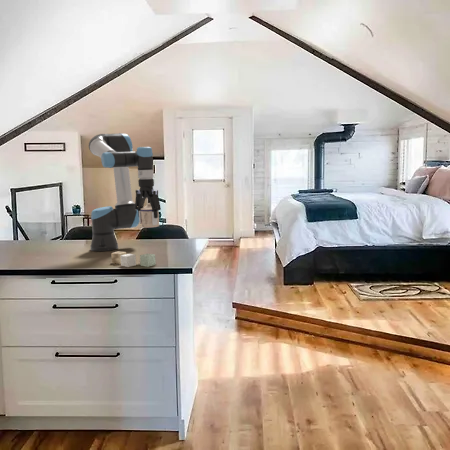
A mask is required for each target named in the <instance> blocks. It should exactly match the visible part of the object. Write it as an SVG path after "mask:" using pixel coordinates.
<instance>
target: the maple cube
mask: <svg viewBox="0 0 450 450" xmlns="http://www.w3.org/2000/svg"><path fill="white" fill-rule="evenodd" d="M125 254H127V252H126V251H115V252H112V253H110V255H111V264H115V263H116V265H121V255H125Z"/></svg>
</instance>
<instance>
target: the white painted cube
mask: <svg viewBox="0 0 450 450" xmlns="http://www.w3.org/2000/svg"><path fill="white" fill-rule="evenodd" d="M136 256H137V255H136V254H132V253H126V254H125V255H121V264H120V265H121V267H126V268H130V267H134V266H136V265H137V260H136V258H137V257H136Z"/></svg>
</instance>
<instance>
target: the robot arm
mask: <svg viewBox="0 0 450 450" xmlns="http://www.w3.org/2000/svg"><path fill="white" fill-rule="evenodd" d="M131 139H132V138H131V137H130V136H129V135H128V134H127V133H120V132H119V133H99V134H96V135H94V136H93V137H92V138H91V139H90V140H89V142H88V149H89V152H90V153H91V154H92V155H93V156H97V157H99V158H100V159H101V165H102V167H103V168H105V169H106V168H110V169H113V178H114V183H115V184H114V185H115V194H116V203H115V205H114V208H113V206H111V205H110V206H109V205H108V206H103V207H102V206H101V207H97V208H95V209H93V210H92V211H91V213H90V214H91V216H90V217H91V228H92V239H91V242H90V248H89V249H90V251H92V252H109V251H114V250H117V249H119V244H118V241H117V238H116V236H115V230H121V229H131V228H137V227H138V226H139V225H142V220H141V208H143V207H145V206H144V205H145V202H146V199H147V200H148V201H149V202H148V203H150V204H151V207H152V210H153V211H152V225H157V218H158V212H160V211H161V210H162V209H161V204H160V203H161V202H160V199H159V190H158V189H154V186H155V180H154V178H155V176H154V158H153V156H154V154H153V148H152V147H150V146H139V147H137V148H136V151H133V150H134V149H133V147H134V146H133V142H132V140H131ZM129 167H132V168H133V167H137V175H138V176H137V178H138V179H137V181H138V187H139V189H135V201H134V200H133V193H132V186H131V185H132V184H131V176H130V168H129Z"/></svg>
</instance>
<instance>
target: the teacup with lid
mask: <svg viewBox="0 0 450 450" xmlns="http://www.w3.org/2000/svg"><path fill="white" fill-rule="evenodd" d="M152 211H153V210H152V207H151V204H150V202H147V204H146V205H145V206H143V208H141V220H142V224H141V227H142V228H144V229H145V228H149V229H150V228H157V227H160V217H159V216H160V214H159V212H160V211H158V218H157V225H152Z"/></svg>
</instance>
